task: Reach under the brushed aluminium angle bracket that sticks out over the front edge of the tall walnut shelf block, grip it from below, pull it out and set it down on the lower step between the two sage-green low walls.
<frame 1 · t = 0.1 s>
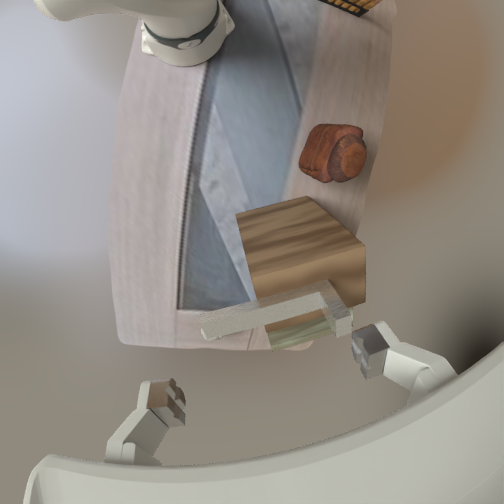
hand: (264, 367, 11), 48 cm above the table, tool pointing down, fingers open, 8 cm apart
ammunition clip: (338, 5, 39), on the table
wooden figurine: (316, 147, 54), on the table
stepped shelf: (280, 245, 63), on the table
aluminium bracket: (266, 306, 37), point 26 cm above the table, touching stepped shelf
white rough round lump: (212, 319, 70), on the table
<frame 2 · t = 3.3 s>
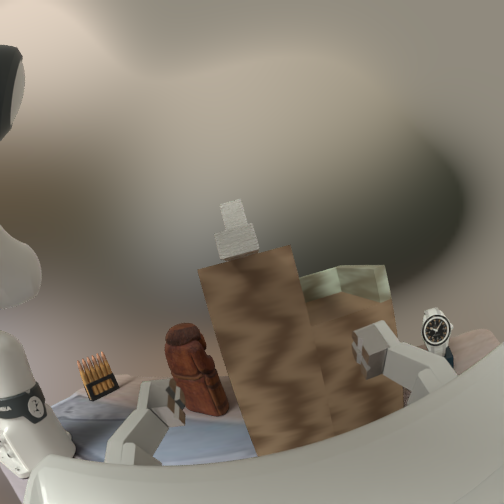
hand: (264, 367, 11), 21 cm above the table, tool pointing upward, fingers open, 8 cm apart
ammunition clip: (105, 395, 61), on the table
wooden figurine: (208, 408, 47), on the table
stepped shelf: (322, 414, 35), on the table
aluminium bracket: (243, 257, 29), point 26 cm above the table, touching stepped shelf
watch: (436, 372, 33), on the table
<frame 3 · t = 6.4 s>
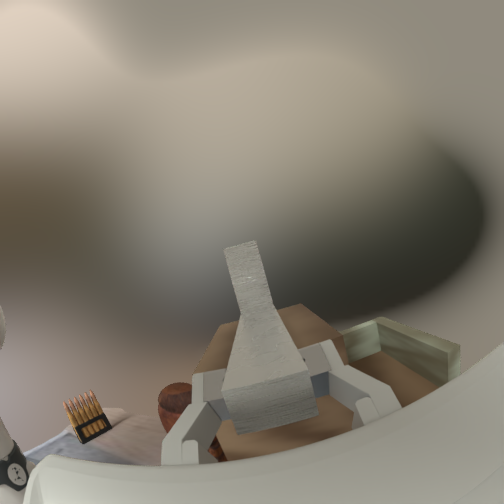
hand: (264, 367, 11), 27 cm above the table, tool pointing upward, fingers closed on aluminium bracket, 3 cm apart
ammunition clip: (96, 436, 48), on the table
wooden figurine: (213, 470, 35), on the table
stepped shelf: (349, 489, 23), on the table
aluminium bracket: (266, 353, 17), point 26 cm above the table, touching gripper, stepped shelf
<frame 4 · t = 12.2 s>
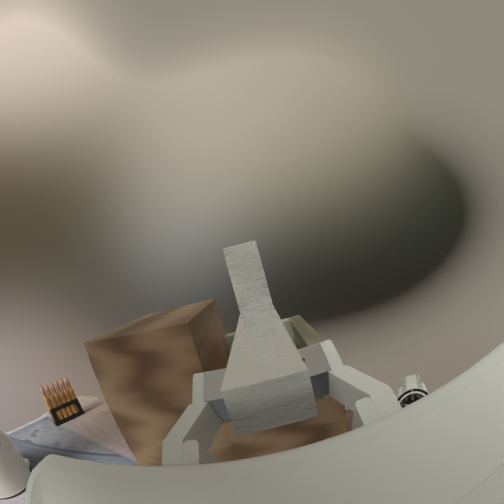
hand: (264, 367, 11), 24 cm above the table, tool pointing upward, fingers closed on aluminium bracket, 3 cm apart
ammunition clip: (70, 419, 51), on the table
stepped shelf: (266, 483, 26), on the table
aluminium bracket: (266, 353, 17), point 23 cm above the table, touching gripper
watch: (412, 444, 24), on the table
when the fingers open (19 cm above the table, at t = 13.7 s): aluminium bracket drops 1 cm, resting on stepped shelf.
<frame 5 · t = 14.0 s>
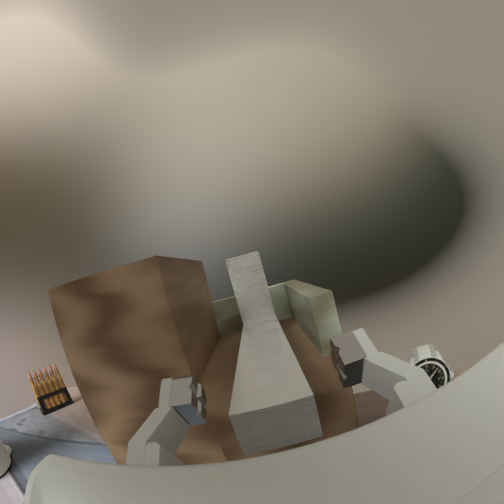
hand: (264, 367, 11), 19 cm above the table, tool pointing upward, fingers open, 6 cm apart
ammunition clip: (58, 409, 48), on the table
stepped shelf: (259, 476, 23), on the table
aluminium bracket: (269, 367, 17), point 17 cm above the table, touching stepped shelf
watch: (425, 429, 21), on the table
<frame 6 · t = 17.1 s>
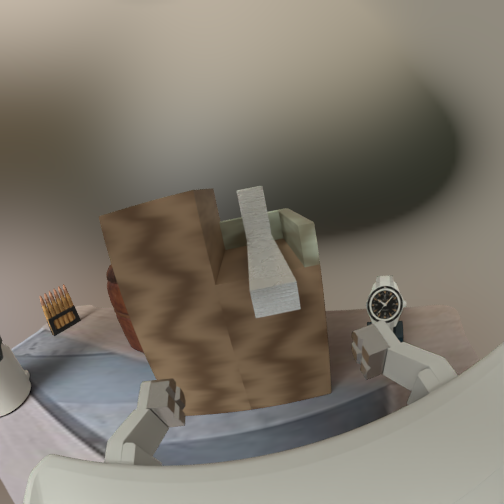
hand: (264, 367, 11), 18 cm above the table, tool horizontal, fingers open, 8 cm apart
ammunition clip: (67, 328, 64), on the table
wooden figurine: (150, 346, 49), on the table
stepped shelf: (249, 371, 37), on the table
aluminium bracket: (267, 271, 26), point 17 cm above the table, touching stepped shelf
watch: (384, 348, 35), on the table
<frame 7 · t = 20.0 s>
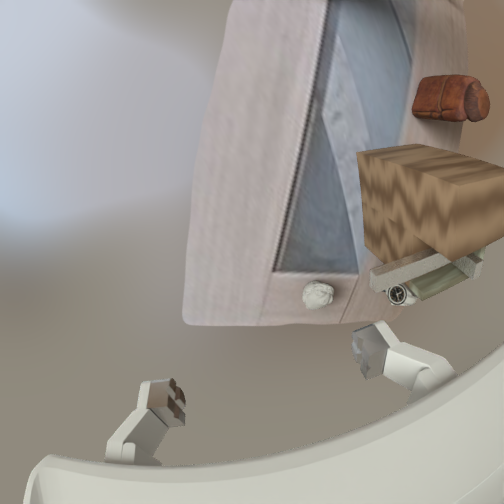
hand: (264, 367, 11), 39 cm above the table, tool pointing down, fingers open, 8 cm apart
wooden figurine: (423, 98, 42), on the table
stepped shelf: (393, 194, 51), on the table
aluminium bracket: (415, 261, 38), point 17 cm above the table, touching stepped shelf
white rough round lump: (311, 285, 58), on the table
watch: (385, 275, 60), on the table
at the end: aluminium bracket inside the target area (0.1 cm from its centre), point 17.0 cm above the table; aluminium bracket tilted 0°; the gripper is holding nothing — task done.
